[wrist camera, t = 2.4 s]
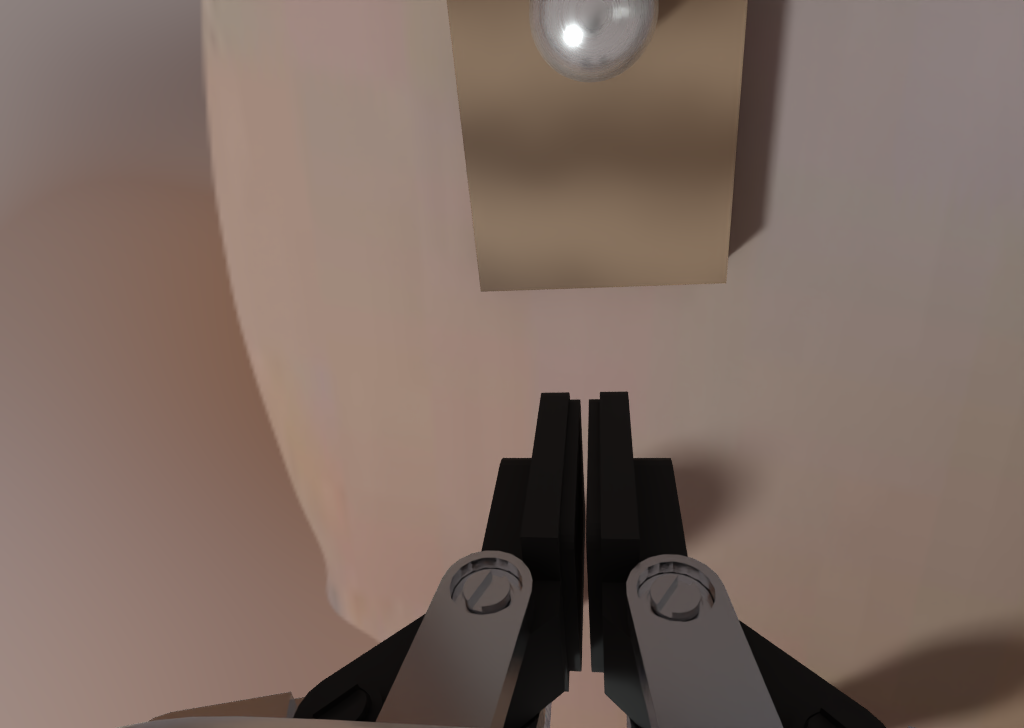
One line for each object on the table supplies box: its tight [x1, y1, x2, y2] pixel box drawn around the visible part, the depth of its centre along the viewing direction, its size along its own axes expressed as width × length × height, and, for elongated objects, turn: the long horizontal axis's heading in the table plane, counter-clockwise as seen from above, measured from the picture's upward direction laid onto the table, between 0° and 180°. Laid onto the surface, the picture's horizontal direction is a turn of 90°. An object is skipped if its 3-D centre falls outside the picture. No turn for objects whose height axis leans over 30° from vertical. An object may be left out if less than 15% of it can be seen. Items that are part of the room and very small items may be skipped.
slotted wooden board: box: [447, 0, 748, 292], centre depth 23 cm, size 20×10×2 cm, turn 5°
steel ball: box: [529, 0, 659, 83], centre depth 20 cm, size 4×4×4 cm
